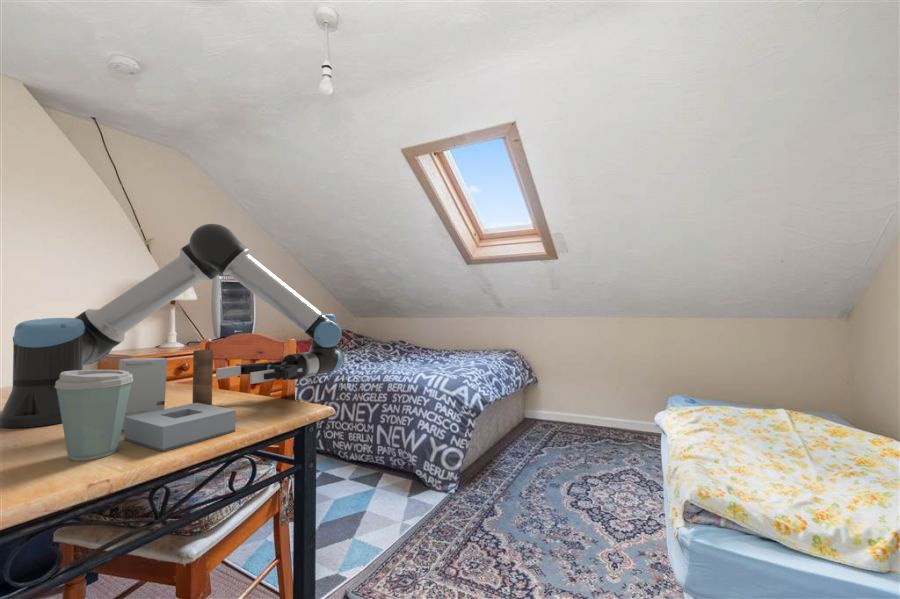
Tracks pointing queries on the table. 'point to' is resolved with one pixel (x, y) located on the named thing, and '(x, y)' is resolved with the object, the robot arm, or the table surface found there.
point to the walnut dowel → (202, 376)
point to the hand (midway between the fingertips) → (233, 376)
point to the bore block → (179, 426)
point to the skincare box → (145, 385)
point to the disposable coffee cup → (92, 411)
